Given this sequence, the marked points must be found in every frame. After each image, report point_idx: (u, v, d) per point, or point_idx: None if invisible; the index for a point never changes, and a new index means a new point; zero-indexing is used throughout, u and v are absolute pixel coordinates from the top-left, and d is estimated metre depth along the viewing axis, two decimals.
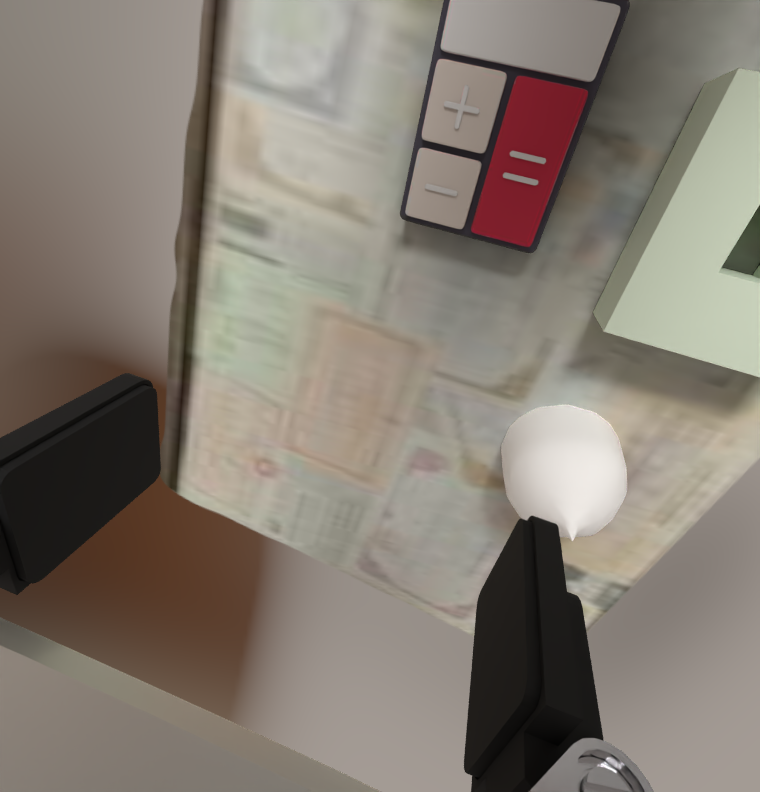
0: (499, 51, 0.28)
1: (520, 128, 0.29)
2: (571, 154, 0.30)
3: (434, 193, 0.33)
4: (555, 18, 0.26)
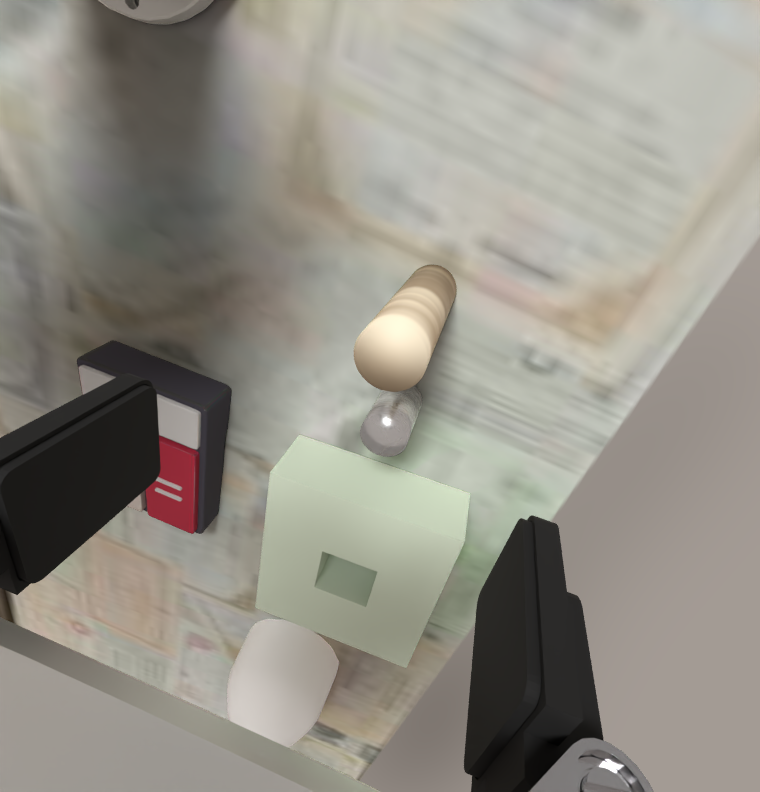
0: None
1: None
2: (202, 484, 0.36)
3: None
4: None
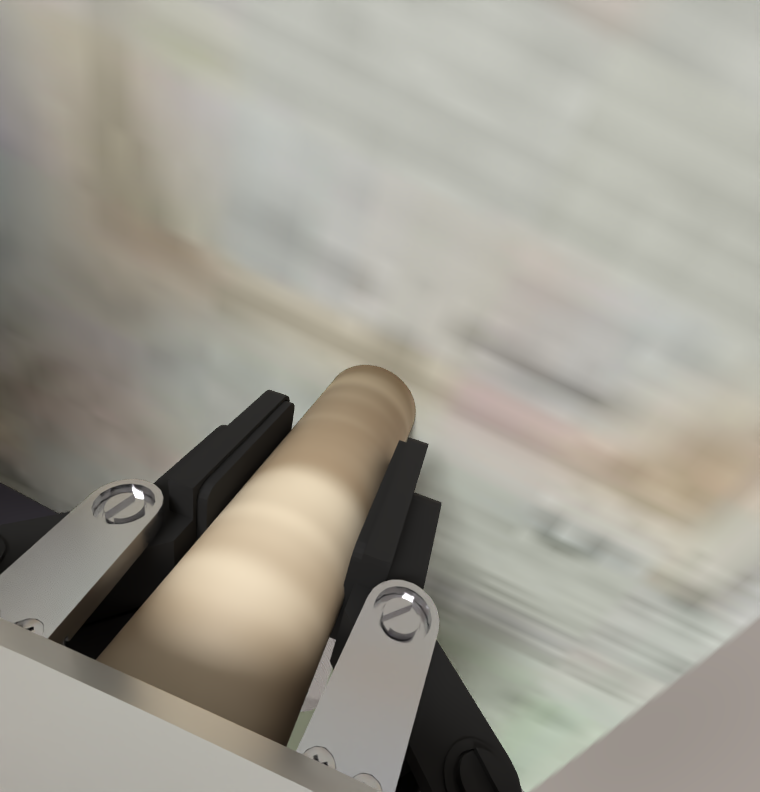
0: None
1: None
2: None
3: None
4: None
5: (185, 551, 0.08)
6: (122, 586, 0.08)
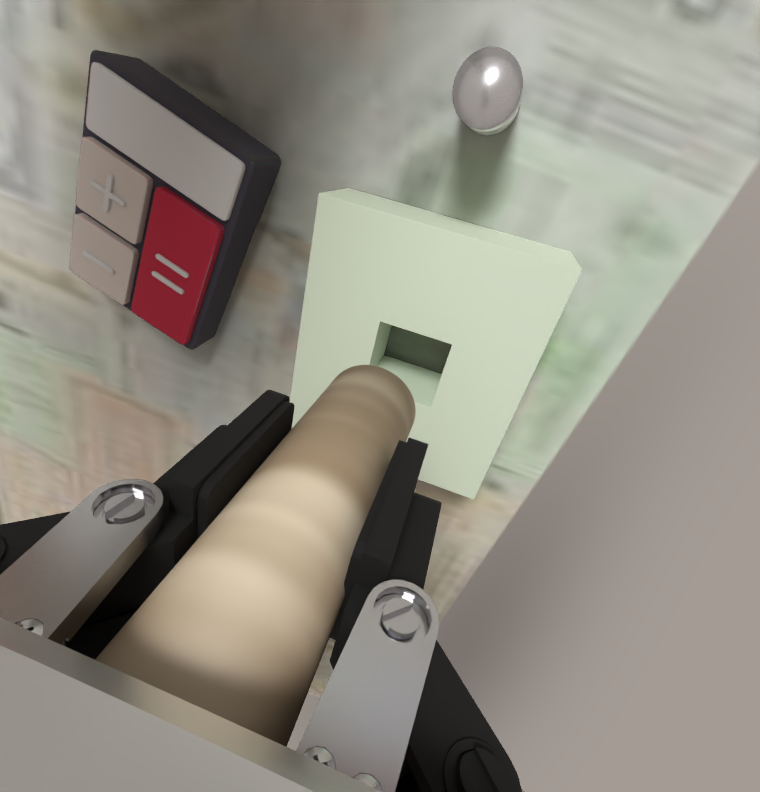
0: (140, 155, 0.26)
1: (164, 236, 0.28)
2: (215, 277, 0.29)
3: (93, 262, 0.31)
4: (186, 148, 0.25)
5: (185, 551, 0.08)
6: (122, 586, 0.08)
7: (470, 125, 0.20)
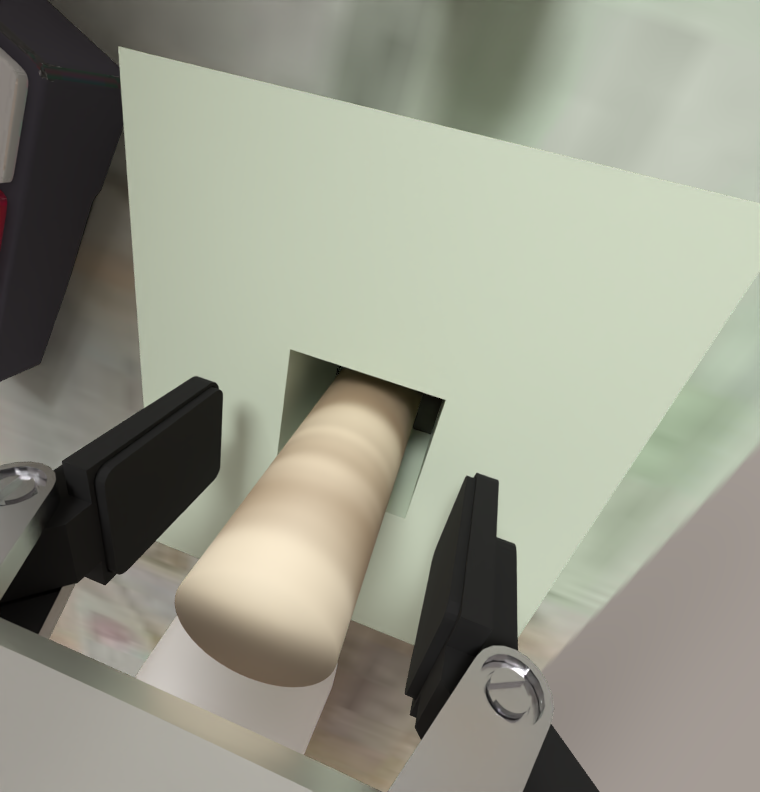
0: None
1: None
2: (4, 281, 0.16)
3: None
4: None
5: (85, 536, 0.08)
6: (28, 568, 0.08)
7: None
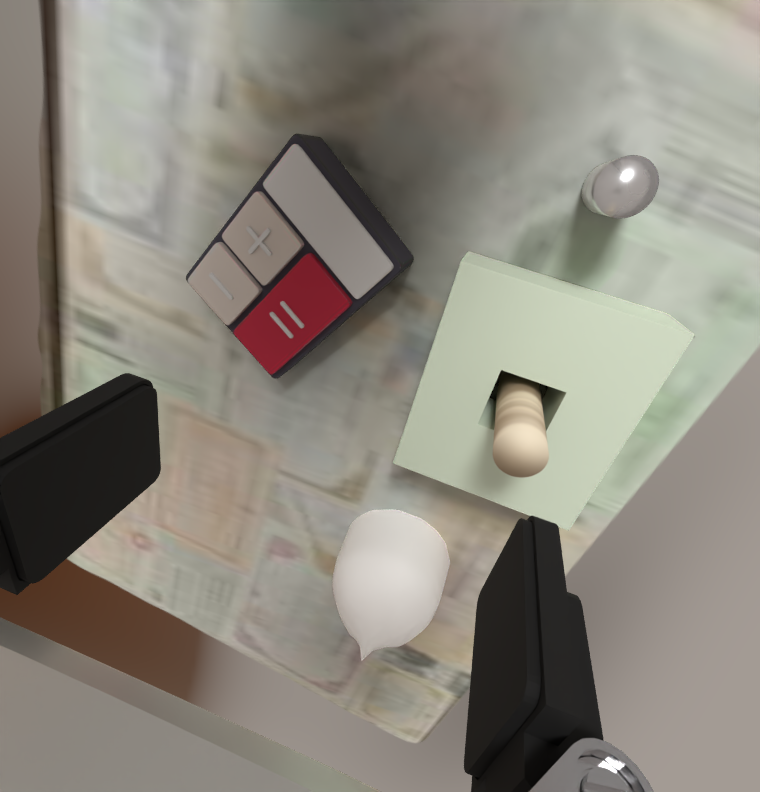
0: (303, 225, 0.30)
1: (295, 291, 0.32)
2: (326, 334, 0.33)
3: (215, 284, 0.34)
4: (349, 237, 0.29)
5: None
6: None
7: (607, 214, 0.24)
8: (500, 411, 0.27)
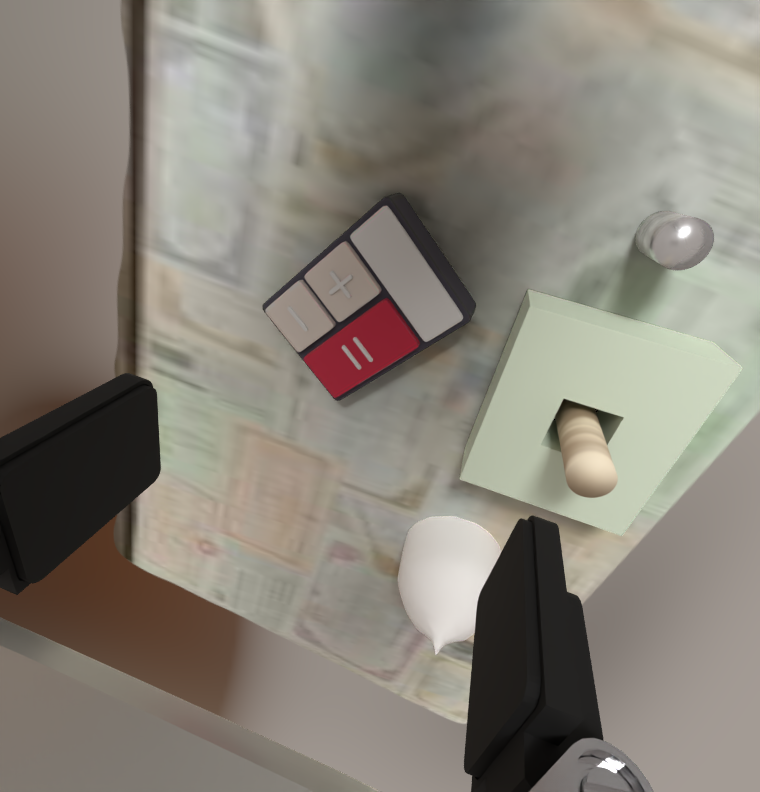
0: (384, 275, 0.33)
1: (369, 330, 0.36)
2: (391, 367, 0.37)
3: (292, 316, 0.37)
4: (426, 290, 0.33)
5: None
6: None
7: (666, 266, 0.27)
8: (566, 437, 0.31)
